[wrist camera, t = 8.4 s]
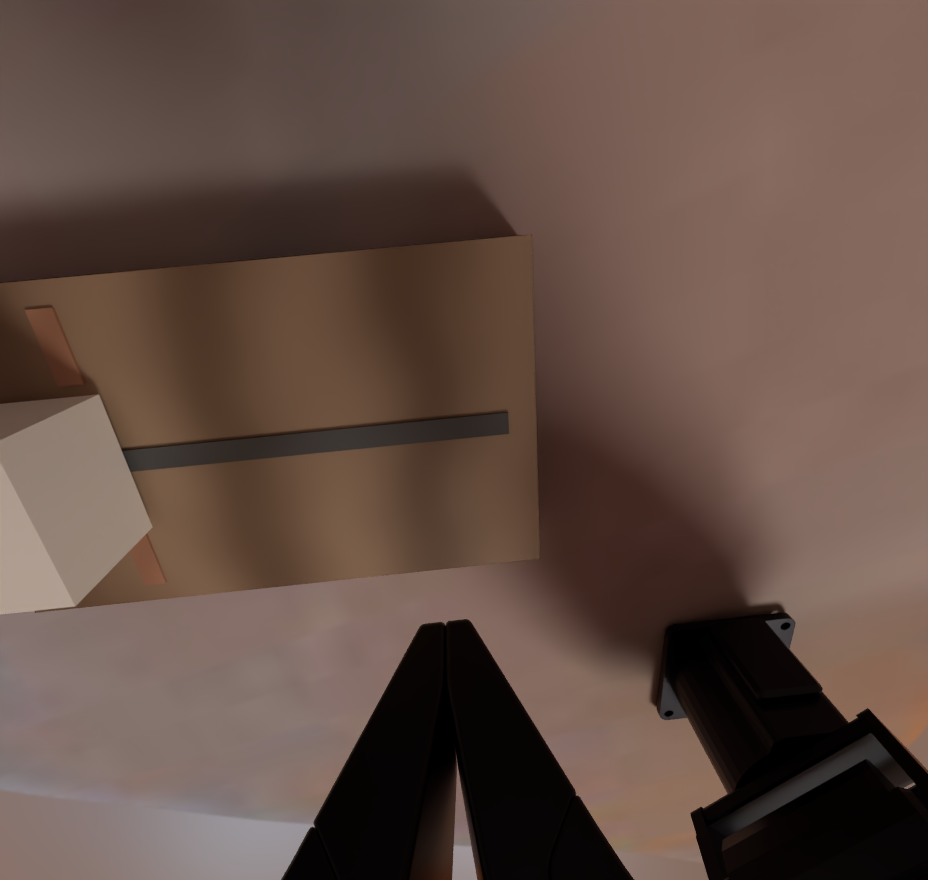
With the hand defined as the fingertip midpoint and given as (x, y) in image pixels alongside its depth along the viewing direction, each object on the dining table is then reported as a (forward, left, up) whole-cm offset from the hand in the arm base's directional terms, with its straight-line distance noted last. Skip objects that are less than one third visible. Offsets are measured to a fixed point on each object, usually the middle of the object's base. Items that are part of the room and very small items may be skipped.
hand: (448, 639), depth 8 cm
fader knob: (0, +13, -9) cm, 15 cm away
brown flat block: (0, +7, -12) cm, 14 cm away
